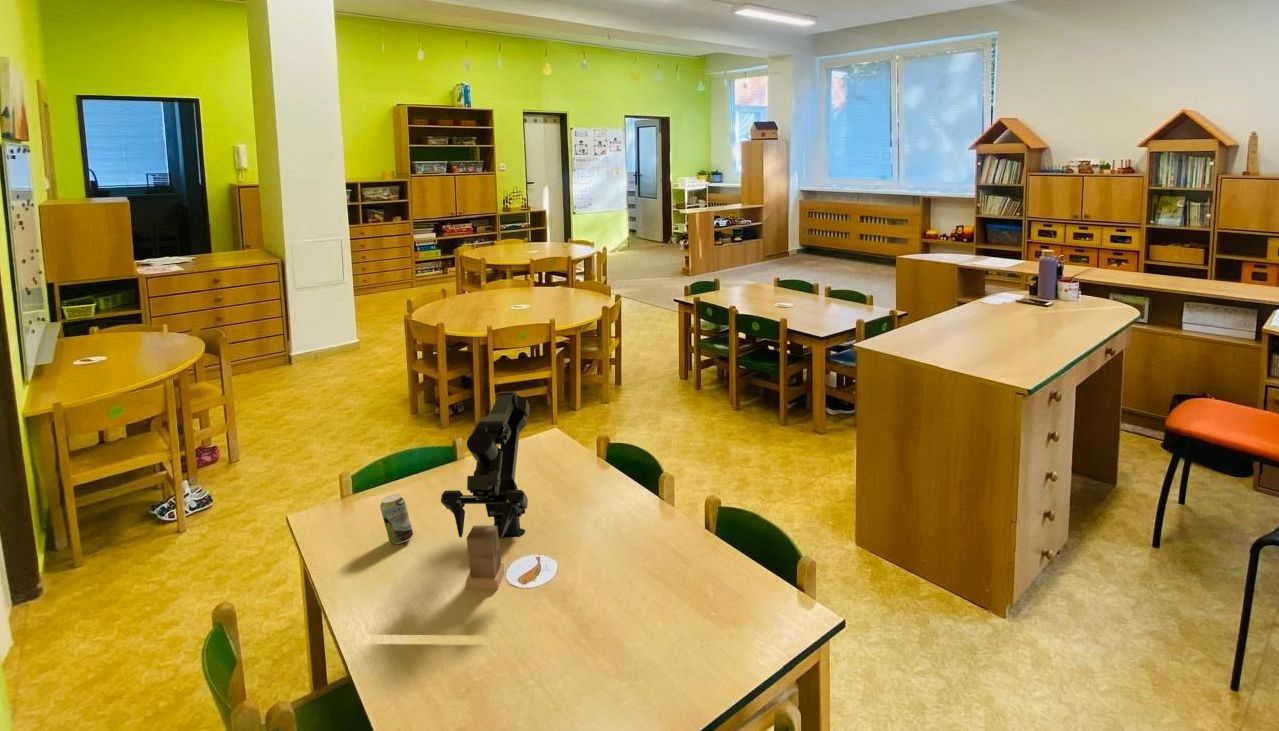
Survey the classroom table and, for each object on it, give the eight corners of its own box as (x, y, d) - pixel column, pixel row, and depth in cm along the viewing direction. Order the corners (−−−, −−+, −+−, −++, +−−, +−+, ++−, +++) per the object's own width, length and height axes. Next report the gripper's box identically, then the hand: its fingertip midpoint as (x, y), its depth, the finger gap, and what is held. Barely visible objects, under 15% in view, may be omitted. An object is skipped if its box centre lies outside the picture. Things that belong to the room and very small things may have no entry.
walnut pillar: (477, 564, 177) (473, 525, 174) (501, 564, 176) (497, 525, 174) (471, 577, 172) (466, 537, 169) (495, 577, 171) (491, 537, 168)
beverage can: (406, 547, 193) (401, 504, 189) (380, 545, 194) (374, 502, 191) (418, 535, 199) (413, 493, 195) (392, 533, 200) (386, 491, 197)
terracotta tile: (474, 573, 178) (473, 563, 177) (504, 573, 178) (503, 563, 177) (467, 590, 171) (465, 580, 171) (498, 590, 171) (497, 580, 170)
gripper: (438, 458, 171) (428, 526, 163) (521, 457, 170) (515, 526, 162) (452, 475, 181) (443, 541, 173) (530, 474, 180) (524, 540, 172)
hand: (480, 536), depth 170 cm, fingers open, 9 cm apart
